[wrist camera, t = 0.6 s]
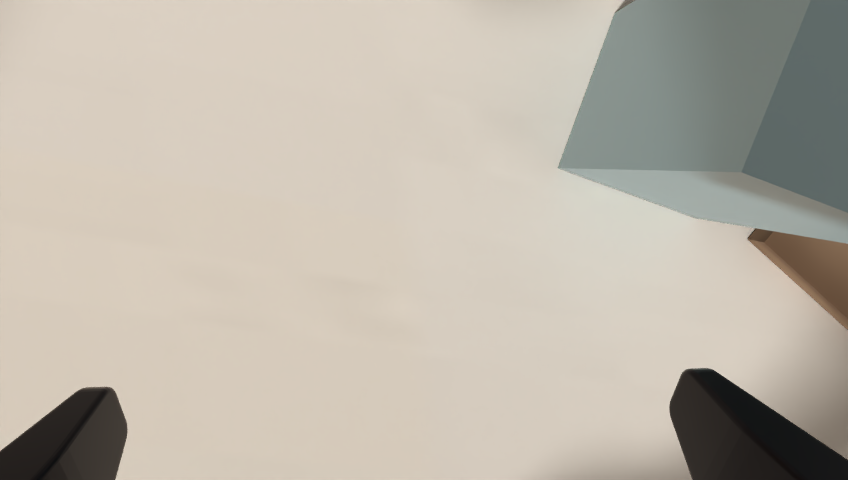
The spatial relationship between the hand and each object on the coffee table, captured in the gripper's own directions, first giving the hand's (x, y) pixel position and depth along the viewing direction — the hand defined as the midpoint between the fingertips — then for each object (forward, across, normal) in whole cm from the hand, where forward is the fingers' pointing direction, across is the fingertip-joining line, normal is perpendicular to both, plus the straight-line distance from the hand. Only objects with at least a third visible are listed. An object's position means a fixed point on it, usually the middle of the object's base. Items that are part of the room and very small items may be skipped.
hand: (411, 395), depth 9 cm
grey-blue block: (+14, -11, 0) cm, 18 cm away
